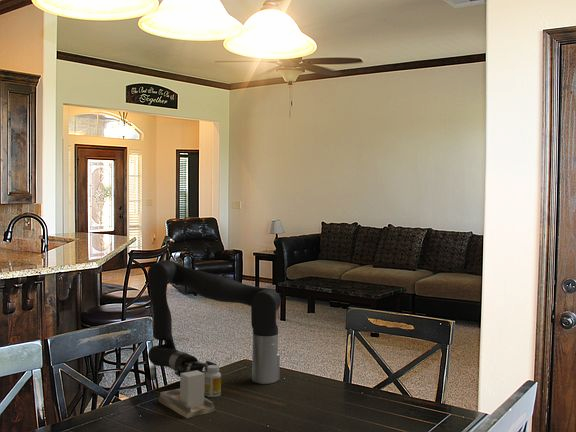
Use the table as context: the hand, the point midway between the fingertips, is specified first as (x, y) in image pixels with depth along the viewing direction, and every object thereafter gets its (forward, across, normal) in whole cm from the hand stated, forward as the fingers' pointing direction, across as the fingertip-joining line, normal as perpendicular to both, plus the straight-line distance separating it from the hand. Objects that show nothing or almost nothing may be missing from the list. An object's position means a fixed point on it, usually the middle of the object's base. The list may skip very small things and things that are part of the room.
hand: (206, 374), depth 212 cm
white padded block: (+13, -13, +5) cm, 19 cm away
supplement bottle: (+4, 0, +6) cm, 8 cm away
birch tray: (+9, -13, +6) cm, 17 cm away
